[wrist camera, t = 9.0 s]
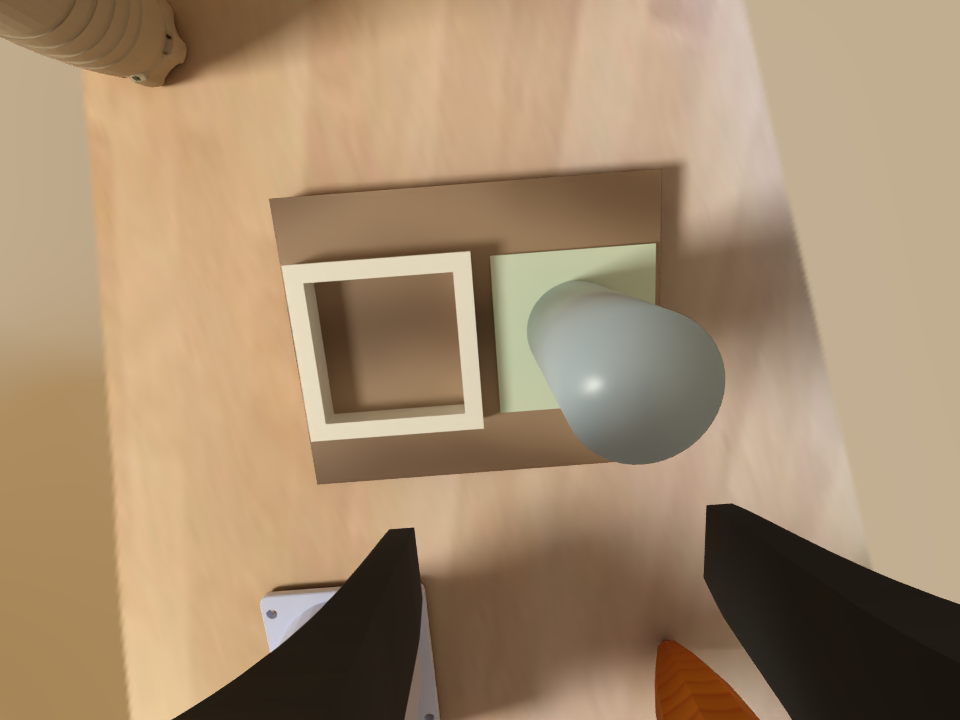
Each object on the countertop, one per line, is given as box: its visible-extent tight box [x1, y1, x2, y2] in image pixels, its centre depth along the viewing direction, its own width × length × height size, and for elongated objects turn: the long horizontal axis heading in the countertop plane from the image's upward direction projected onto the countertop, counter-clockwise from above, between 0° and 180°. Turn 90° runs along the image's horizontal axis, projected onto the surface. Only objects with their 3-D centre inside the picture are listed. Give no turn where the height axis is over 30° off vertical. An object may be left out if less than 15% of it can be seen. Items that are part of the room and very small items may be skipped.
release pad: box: [490, 243, 656, 413], centre depth 20 cm, size 6×6×1 cm
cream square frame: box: [281, 251, 484, 442], centre depth 19 cm, size 7×7×1 cm
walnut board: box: [269, 169, 661, 484], centre depth 20 cm, size 12×15×1 cm
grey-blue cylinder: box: [527, 281, 725, 465], centre depth 16 cm, size 4×4×8 cm
